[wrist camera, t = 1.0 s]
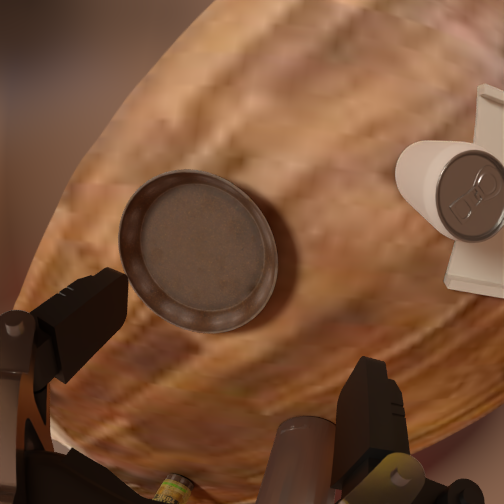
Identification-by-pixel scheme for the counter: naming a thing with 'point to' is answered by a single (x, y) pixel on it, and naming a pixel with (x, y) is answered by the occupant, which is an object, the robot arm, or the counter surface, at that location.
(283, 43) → the counter surface
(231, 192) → the plant saucer
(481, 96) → the tray
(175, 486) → the sauce bottle
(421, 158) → the can
